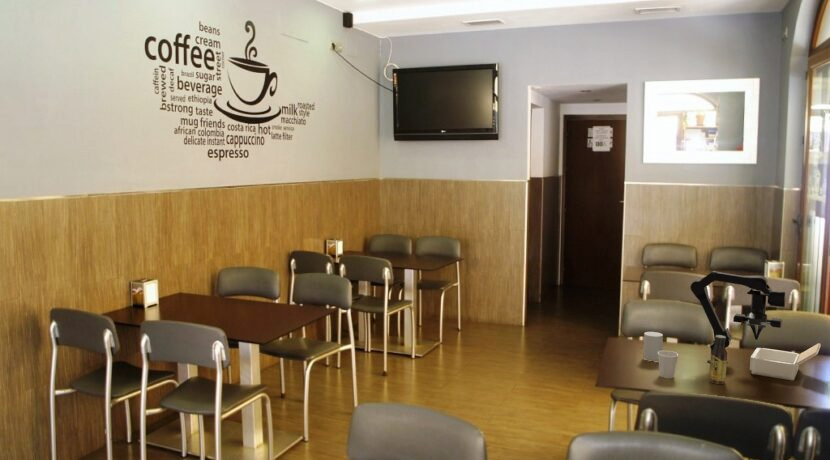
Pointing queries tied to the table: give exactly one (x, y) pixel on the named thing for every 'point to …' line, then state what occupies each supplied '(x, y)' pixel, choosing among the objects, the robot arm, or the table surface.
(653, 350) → the cup
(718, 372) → the sauce bottle
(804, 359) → the carton flap
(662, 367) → the dixie cup
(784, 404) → the table surface
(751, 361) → the carton
